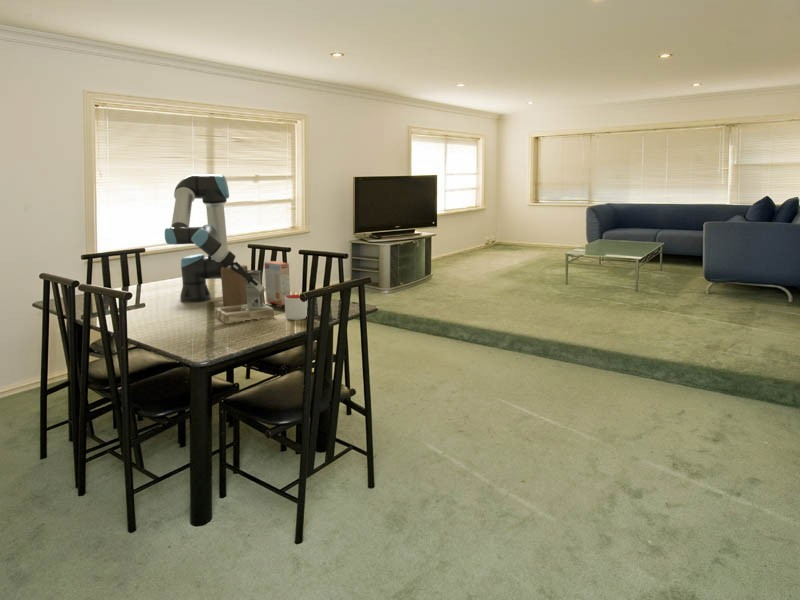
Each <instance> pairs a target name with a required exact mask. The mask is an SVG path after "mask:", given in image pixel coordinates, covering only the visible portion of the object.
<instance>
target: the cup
mask: <svg viewBox="0 0 800 600" xmlns="http://www.w3.org/2000/svg"><path fill="white" fill-rule="evenodd" d="M299 294H300V293H299ZM299 294H290V295H288V296H285V305H284V314H285V315H284V316H285V318H286V319H287V320H289V321H300V320H301V321H302V320H304V319H306V316H307V307H308V300H307V301H305V302H302V301H301V300H300V296H299ZM307 317H308V316H307Z"/></svg>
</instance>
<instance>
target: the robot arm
mask: <svg viewBox="0 0 800 600" xmlns="http://www.w3.org/2000/svg"><path fill="white" fill-rule="evenodd" d="M173 197H174V199H175V201H174V207H173V213H172V219H171V226H169V227H166V228H165V229H164V241H165V243H166V244H167V245H175V246H176V245H195V246H196V247H198V248H199V249H201V251H203V252H204V253H205V254H206V255H207V256H205V255H204V253H196V254H191V255H188V256H184V257H182V258H181V260H180V269H181V270H180V271H181V279H182V280H181V281H182V287H181V291H180V294H179V295H180V299H179V300H180V301H181V302H184V301H187V302H186V303H193V302H195V303H196V301H197V302H204V300H205V301H207V300H210V299H211V298H212V297H211V295H212V294H211V293H210V290H209V287H208V285H207V280H213V279H214V280H215V279H216V280H217V279H220V280H221V268H222V267H223V268H227V267H228V266H229V265H230V266H231V269H232V270H233V271H235V272H236V273H238V274H240V275H242V277H244V278H245V279H246V280H248V282H247V283H248V284H249V283H251V284H252V285H253V286H254V287H255V288H257V289H258V290H259V291H260V292H261V291H262V290H264V288H265V286H264V285H263V284H262V285H261V284H260V283H259V282H258V281H257V280H255V279H254V278H253V277H251V276H250V275H249V274H248V273H247V271H246V272H245V271H244V270H243V268H242V267H241V266H240V265H241V264H240V263H238V262H237V261H235V260H236V255H235V254H234V252H232V251H231V250H229V249H228V240H227V239H228V238H227V227H226V226H227V225H226V216H225V215H226V214H225V204H226V203H227V202H228V201H227V199H229V198H230V191H229V186H228V182H227V179H226V176H224V175H223V174H215V173H214V174H191V175H188V176H186V177H184V178H183V179H181V180H180V181H179V182H178V183H177V185H176V186H175V188H174V193H173ZM195 199H198V200H199V199H201V200H202V204H204V206H205V208H206V218H207V224H204V225H203V226H191V227H190V222H191V213H192V207H193V202H194V201H195Z"/></svg>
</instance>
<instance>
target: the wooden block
mask: <svg viewBox="0 0 800 600" xmlns="http://www.w3.org/2000/svg"><path fill="white" fill-rule="evenodd" d="M240 266H241V267H242V268H243V270H244V271H245V272H246V271H248V269H249V267H248V266H247V265H246V264H245V265H244V264H240ZM220 280H221V290H222V291H221V292H222V305H223V306H222V307H226V306H234V305H242V304H247V292H246V279H245V278H244V277H242V275H240V274H238V273H236V272H235V271H233V270H232V269H231V266H230V265H229V266H228V267H227V268H223V267H222V268H221V278H220Z"/></svg>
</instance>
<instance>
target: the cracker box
mask: <svg viewBox="0 0 800 600" xmlns="http://www.w3.org/2000/svg"><path fill="white" fill-rule="evenodd" d="M264 281H265V298H266V301H265V302H267V303H271V304H273V305H279V306H285V296H288V295H291V283H290V263H289V262H282V261H276V260H271V261H264Z"/></svg>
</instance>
